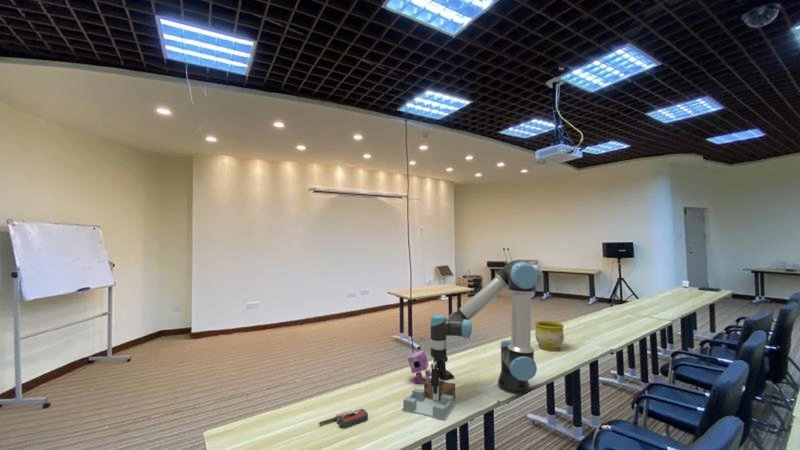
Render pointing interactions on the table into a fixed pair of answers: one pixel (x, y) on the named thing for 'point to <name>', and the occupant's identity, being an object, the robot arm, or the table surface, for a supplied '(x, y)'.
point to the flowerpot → (549, 335)
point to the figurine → (448, 373)
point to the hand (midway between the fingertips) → (438, 396)
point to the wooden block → (443, 389)
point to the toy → (419, 365)
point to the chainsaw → (349, 418)
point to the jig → (428, 404)
